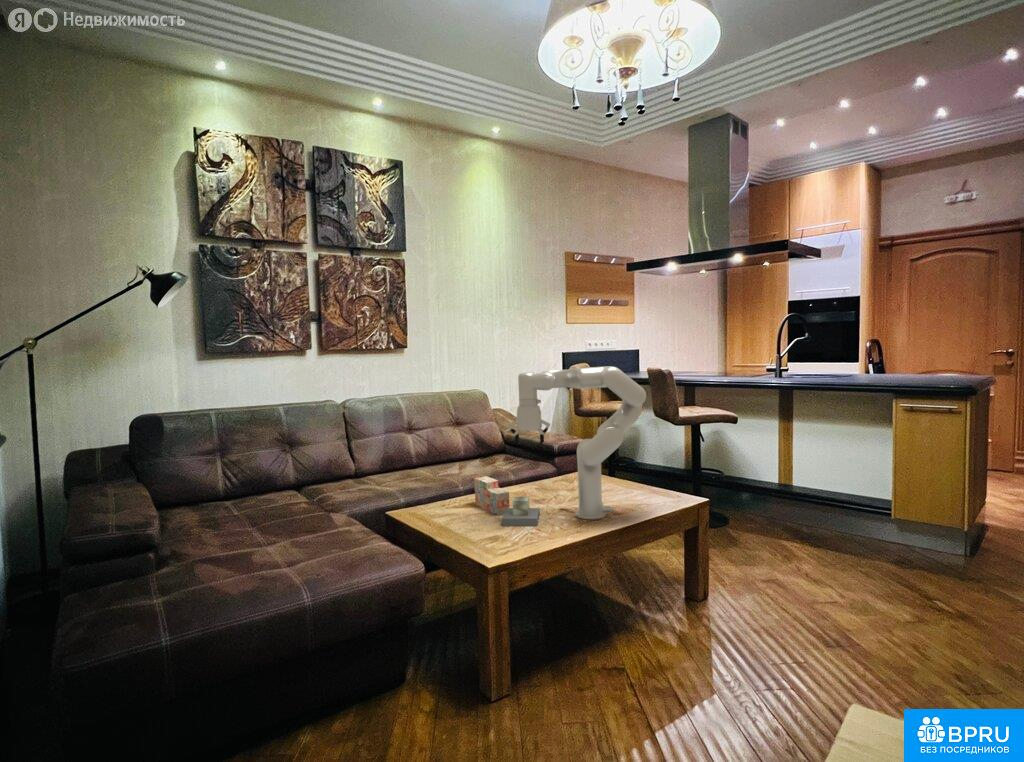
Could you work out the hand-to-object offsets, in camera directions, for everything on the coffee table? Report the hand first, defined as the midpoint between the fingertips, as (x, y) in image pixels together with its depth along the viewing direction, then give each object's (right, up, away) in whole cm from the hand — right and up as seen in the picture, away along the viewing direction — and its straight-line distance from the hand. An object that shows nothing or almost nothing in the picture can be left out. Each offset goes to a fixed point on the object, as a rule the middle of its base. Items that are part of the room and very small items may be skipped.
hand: (529, 444), depth 225 cm
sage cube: (-3, -28, -3) cm, 28 cm away
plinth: (-3, -31, -3) cm, 31 cm away
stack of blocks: (-16, -30, +16) cm, 38 cm away
